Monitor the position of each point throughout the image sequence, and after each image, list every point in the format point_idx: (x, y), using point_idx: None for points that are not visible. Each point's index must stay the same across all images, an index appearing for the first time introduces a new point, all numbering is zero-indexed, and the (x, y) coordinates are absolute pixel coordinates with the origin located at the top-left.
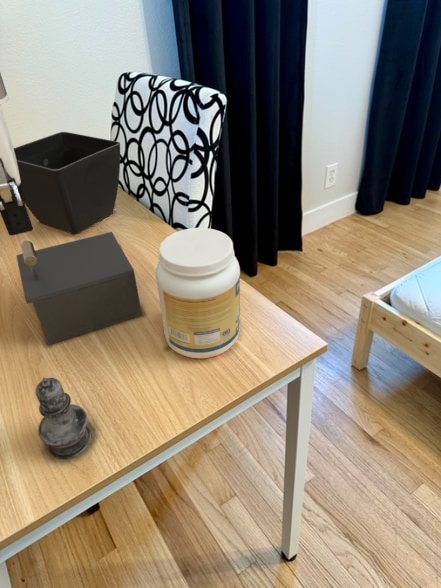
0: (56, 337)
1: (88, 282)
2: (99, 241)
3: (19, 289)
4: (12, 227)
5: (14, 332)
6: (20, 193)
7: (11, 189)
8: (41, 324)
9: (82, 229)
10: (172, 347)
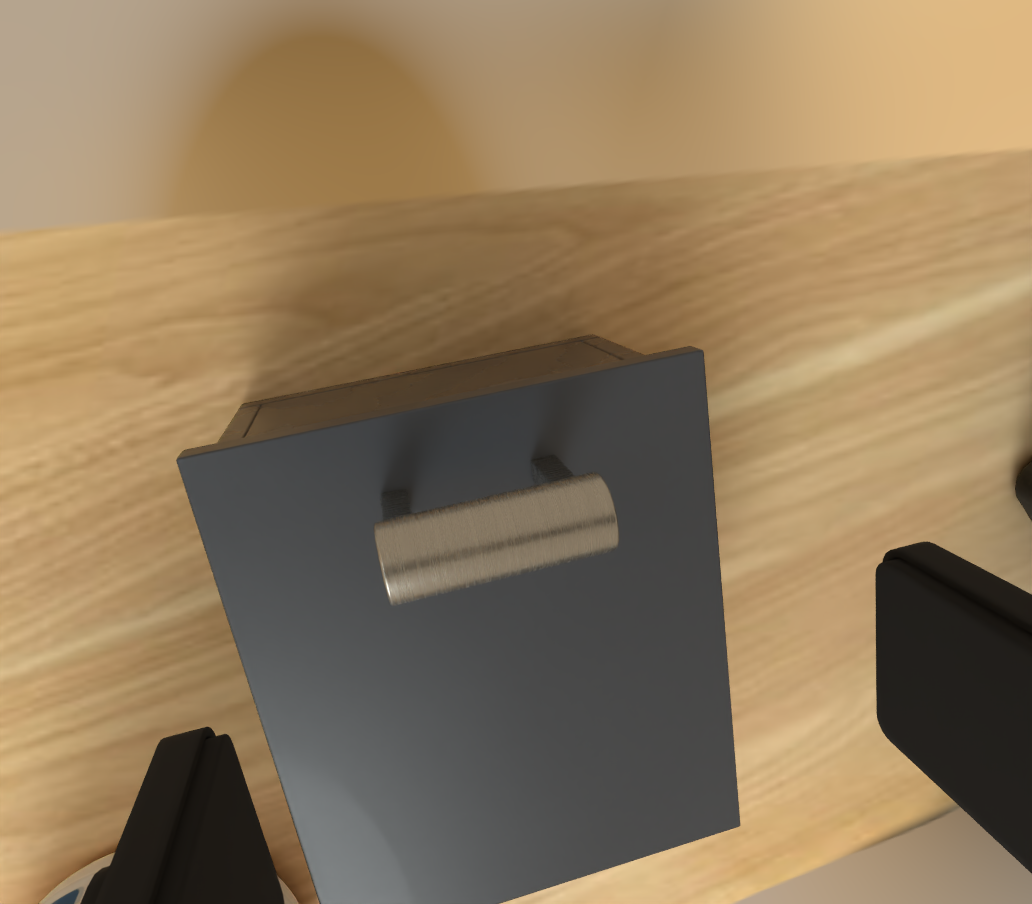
0: None
1: (277, 767)
2: (668, 780)
3: (694, 243)
4: (90, 888)
5: (372, 243)
6: (950, 782)
7: (1008, 766)
8: (222, 436)
9: (1029, 514)
10: (72, 879)
